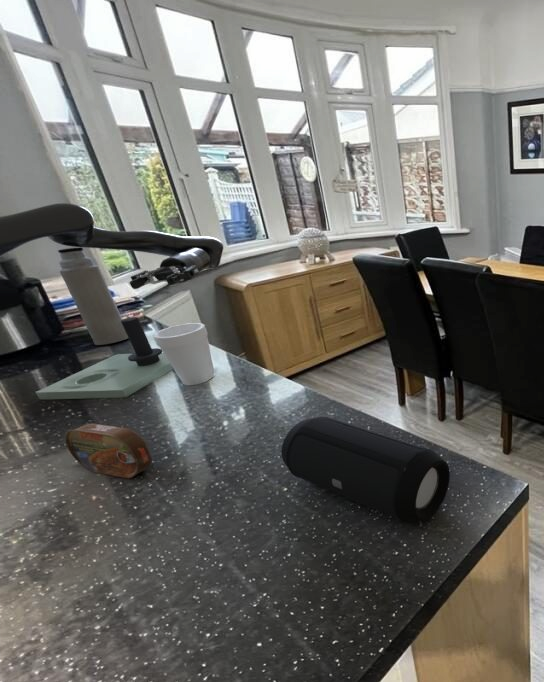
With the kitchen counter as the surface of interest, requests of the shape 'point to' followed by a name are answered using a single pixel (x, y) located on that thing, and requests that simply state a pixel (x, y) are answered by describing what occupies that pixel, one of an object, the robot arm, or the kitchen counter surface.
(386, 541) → the kitchen counter surface
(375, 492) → the portable speaker
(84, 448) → the tin
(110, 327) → the thermos bottle
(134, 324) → the stopper
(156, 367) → the plate
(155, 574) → the kitchen counter surface
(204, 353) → the foam cup
